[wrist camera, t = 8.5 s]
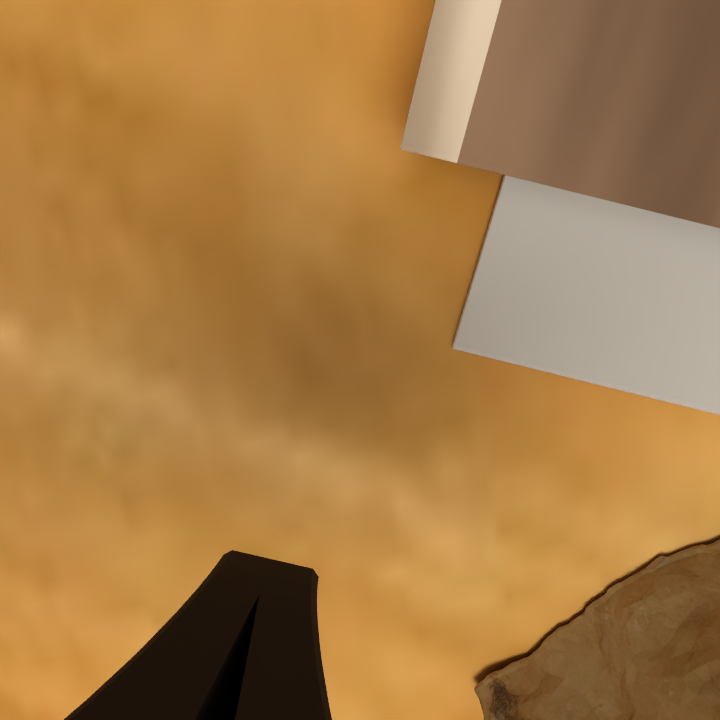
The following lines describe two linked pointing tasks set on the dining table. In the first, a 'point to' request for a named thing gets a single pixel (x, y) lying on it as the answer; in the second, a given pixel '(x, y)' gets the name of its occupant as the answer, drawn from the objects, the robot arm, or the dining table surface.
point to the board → (598, 294)
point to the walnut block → (578, 97)
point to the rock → (626, 652)
